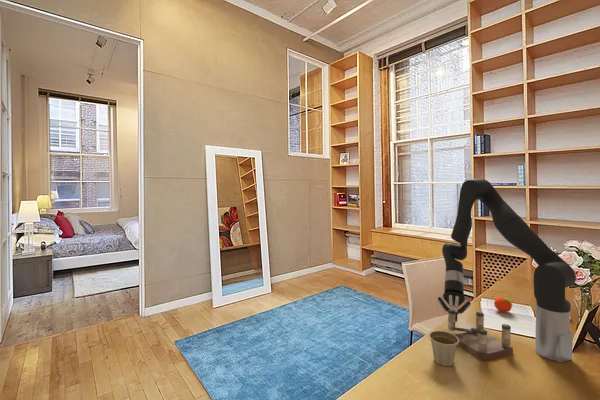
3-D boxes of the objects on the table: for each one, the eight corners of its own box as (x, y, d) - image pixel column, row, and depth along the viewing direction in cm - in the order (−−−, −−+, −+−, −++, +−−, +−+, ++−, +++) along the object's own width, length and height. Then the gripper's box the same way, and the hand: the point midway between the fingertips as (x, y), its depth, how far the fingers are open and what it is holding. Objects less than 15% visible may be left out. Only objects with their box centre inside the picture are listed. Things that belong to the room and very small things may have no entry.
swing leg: (475, 330, 120) (476, 312, 119) (477, 333, 117) (477, 315, 117) (447, 327, 123) (447, 309, 123) (448, 330, 120) (448, 311, 120)
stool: (512, 352, 108) (513, 327, 108) (482, 360, 104) (482, 333, 104) (478, 334, 122) (479, 311, 121) (450, 340, 118) (450, 316, 117)
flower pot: (446, 373, 98) (447, 347, 97) (423, 358, 106) (423, 334, 106) (464, 364, 102) (465, 339, 102) (440, 350, 111) (440, 328, 110)
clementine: (517, 314, 139) (518, 299, 138) (507, 316, 136) (507, 301, 136) (500, 307, 146) (501, 293, 146) (490, 310, 144) (490, 295, 143)
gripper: (437, 277, 133) (435, 315, 123) (471, 281, 127) (472, 321, 117) (438, 285, 138) (436, 322, 128) (470, 289, 132) (471, 328, 122)
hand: (453, 322), depth 122 cm, fingers closed
